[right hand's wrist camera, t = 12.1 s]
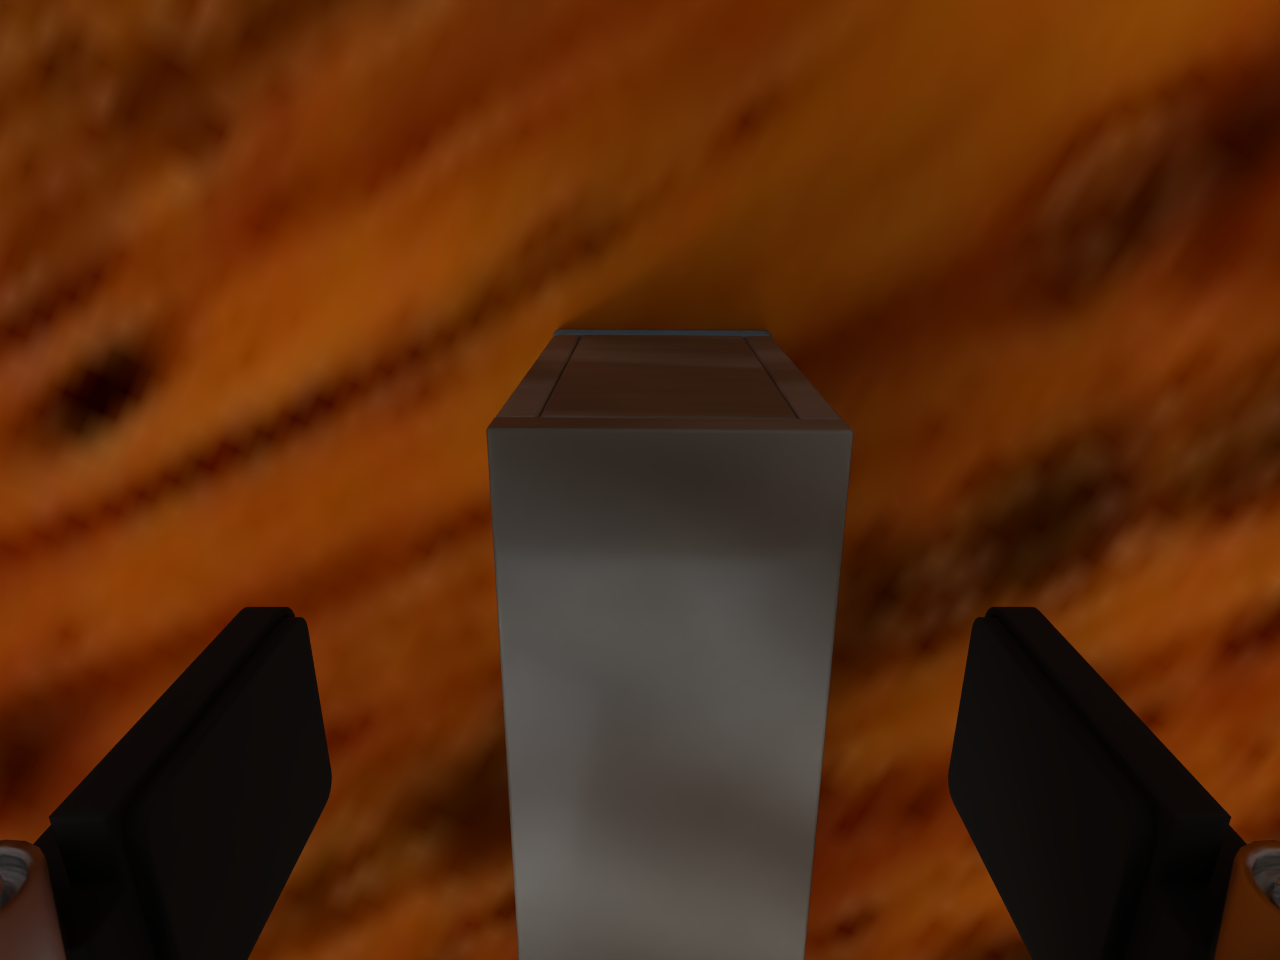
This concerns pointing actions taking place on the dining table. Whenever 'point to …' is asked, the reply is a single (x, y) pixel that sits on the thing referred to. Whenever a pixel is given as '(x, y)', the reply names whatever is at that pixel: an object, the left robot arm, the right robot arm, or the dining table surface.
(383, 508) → the dining table surface
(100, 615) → the dining table surface
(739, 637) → the cabinet
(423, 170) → the dining table surface
